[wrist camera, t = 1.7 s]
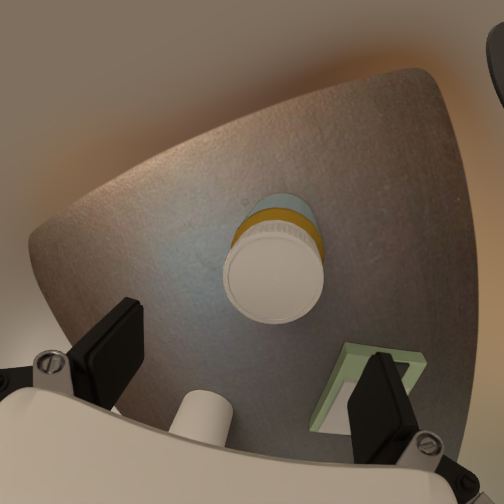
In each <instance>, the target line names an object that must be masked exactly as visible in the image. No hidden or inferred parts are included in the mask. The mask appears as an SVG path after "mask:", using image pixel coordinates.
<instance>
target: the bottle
mask: <svg viewBox="0 0 504 504" xmlns="http://www.w3.org/2000/svg"><path fill="white" fill-rule="evenodd" d="M323 260H324V247H323V243H322V238H321V235H320V232H319V228H318V225H317V222H316V219H315V216H314V213H313V212H312V210H311V208H310V207H309V205H308V204H307V203H306V202H305V201H304V200H302V199H301V198H300V197H298V196H296V195H293V194H290V193H275V194H271V195H268V196H266V197H265V198H263V199H262V200H260V201H259V202H258V203H257V204H256V206H255V207H254V208H253V209H252V211H251V212H250V213H249V215H248V216H247V217H246V219H245V220H244V221H243V223H242V224H241V225H240V227H239V228H238V230H237V231H236V233H235V236H234V239H233V241H232V245H231V250H230V252H229V254H228V255H227V258H226V260H225V261H226V262H225V264H224V269H223V283H224V288H225V291H226V294H227V296H228V298H229V300H230V301H231V303H232V304H233V305H234V306H235V307H236V309H237V310H239V311H240V312H241V313H242V314H244V315H245V316H247V317H248V318H250V319H253V320H255V321H258V322H261V323H266V324H283V323H288V322H291V321H294V320H296V319H298V318H300V317H302V316H303V315H305V314H306V313H307V312H309V311H310V310H311V309H312V307H313V306H314V305H315V304H316V302H317V301H318V299H319V297H320V295H321V291H322V289H323V285H324V282H323V280H324V271H323Z"/></svg>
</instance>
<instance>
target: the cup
mask: <svg viewBox="0 0 504 504" xmlns="http://www.w3.org/2000/svg"><path fill="white" fill-rule="evenodd" d="M232 416H233V408H232V406H231V404H230V403H229V402H228V401H227V400H226V399H225V398H224V397H222V396H220V395H219V394H216V393H214V392H211V391H206V390H195V391H191V392H189V393H187V394H186V395H185V397H184V399H183V401H182V403H181V405H180V408H179V410H178V412H177V414H176V416H175V419H174V421H173V423H172V425H171V428H170V430H169V433H172V434H176V435H179V436H182V437H186V438H189V439H193V440H197V441H200V442H204V443H208V444H212V445H216V446H220V447H224V446H225V442H226V439H227V435H228V431H229V427H230V423H231V420H232Z"/></svg>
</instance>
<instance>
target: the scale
mask: <svg viewBox="0 0 504 504" xmlns="http://www.w3.org/2000/svg"><path fill="white" fill-rule="evenodd" d="M376 352H386V353H390V354H391V355H392V358H393V360H394V362H395V365H396V367H397V370H398V372H399V375H400V377H401V380H402V382H403V385H404V388H405V390H406V393H407V395H408V394H409V393H410V391H411V389H412V388H413V386H414V385H415V383H416V381H417V380H418V378H419V376H420V375H421V373H422V371H423V370H424V368H425V366H426V364H427V362H426V360H425V358H424V356H423V354H422V353H420V352H411V351H403V350H395V349H388V348H381V347H374V346H367V345H360V344H354V343H348V342H345V343H344V345H343V348H342V350H341V353H340V355H339V357H338V360H337V362H336V364H335V367H334V369H333V371H332V373H331V376H330V378H329V380H328V382H327V384H326V387H325V389H324V391H323V393H322V395H321V397H320V399H319V401H318V403H317V405H316V407H315V409H314V411H313V413H312V415H311V417H310V419H309V431H313V432H322V433H332V434H344V435H351V432H350V425H349V418H348V411H347V402H348V400H349V398H350V396H351V394H352V392H353V390H354V388H355V386H356V384H357V382H358V381H359V379H360V377H361V375H362V373H363V371H364V369H365V367H366V364H367V362H368V360H369V358H370V356H371V355H373V354H374V355H375V353H376Z"/></svg>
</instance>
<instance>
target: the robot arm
mask: <svg viewBox="0 0 504 504" xmlns="http://www.w3.org/2000/svg"><path fill="white" fill-rule="evenodd" d="M143 360H144V323H143V306H142V305H140V302H139V301H138V300H135V299H132V298H128V297H125V298H124V299H123V300H122V301H121V302H120V303H119V304H118V305H117V306H115V307H114V308H113V309H112V310H111V311H110V312H109V313H108V314H107V315H106V316H105V317H104V318H103V319H102V320H101V321H100V322H98V323H97V324H96V325H95V326H94V327H93V328H92V329H91V330H90V331H89V332H88V333H87V334H86V335H85V336H83V337H82V338H81V339H80V340H79V341H78V342H77V343H76V344H75V345H74V346H73V347H72V348H71V349H70V350H69V351H68V352H67V353H66V354H64V353H62V352H61V351H57V350H47V351H44V352H41V353H40V354H38V355H37V356H36V357H35V359H34V362H33V366H26V367H17V368H8V369H0V504H494V502H492V500H491V499H490V498H489V497H488V496H487V495H486V494H485V493H484V492H482V493H481V494H480V493H479V489H480V483H479V480H478V478H477V477H476V476H475V474H473V473H472V472H471V471H468V470H467V469H466V468H464V467H462V466H461V465H459V464H458V463H456V462H454V461H453V460H451V459H450V458H448V457H447V456H445V455H443V453H444V450H445V445H444V442H443V440H442V438H441V437H440V436H439V435H438V434H436V433H435V432H433V431H430V430H419V427H418V423H417V420H416V417H415V415H414V412H413V409H412V406H411V404H410V401H409V398H408V395H407V393H406V390H405V388H404V385H403V382H402V380H401V377H400V375H399V372H398V370H397V367H396V365H395V362H394V360H393V358H392V355H391V354H390V353H386V352H376V353H375V355H374V354H373V355H371V356H370V358H369V360H368V362H367V364H366V367H365V369H364V371H363V373H362V375H361V377H360V379H359V381H358V382H357V384H356V386H355V388H354V390H353V392H352V394H351V396H350V398H349V400H348V402H347V411H348V418H349V425H350V432H351V439H352V447H353V455H354V464H344V463H327V462H314V461H304V460H295V459H287V458H280V457H273V456H266V455H260V454H255V453H249V452H244V451H239V450H234V449H229V448H225V447H220V446H216V445H212V444H208V443H204V442H200V441H197V440H193V439H189V438H186V437H182V436H179V435H176V434H172V433H169V432H166V431H163V430H160V429H157V428H154V427H151V426H148V425H145V424H143V423H140V422H137V421H134V420H132V419H129V418H126V417H124V416H121V415H118V414H116V413H114V412H111V409H112V408H113V406H114V405H115V403H116V402H117V400H118V399H119V397H120V396H121V394H122V393H123V391H124V390H125V388H126V387H127V385H128V384H129V382H130V381H131V379H132V378H133V376H134V375H135V373H136V372H137V370H138V369H139V367H140V366H141V364H142V363H143Z"/></svg>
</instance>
